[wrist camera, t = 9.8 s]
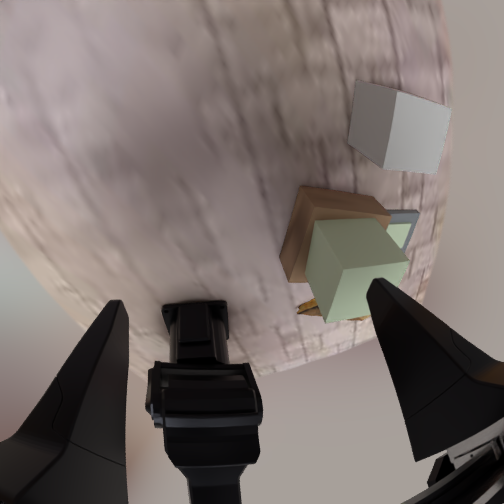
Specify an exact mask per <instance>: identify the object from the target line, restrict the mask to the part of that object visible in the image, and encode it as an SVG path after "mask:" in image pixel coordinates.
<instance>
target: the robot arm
mask: <svg viewBox="0 0 504 504" xmlns="http://www.w3.org/2000/svg"><path fill="white" fill-rule="evenodd" d="M366 299H367V303H368V306H369V310H370V314H371V317H372V321H373V325H374V328H375V332H376V335H377V338H378V340H379V343H380V346H381V348H382V351H383V354H384V357H385V360H386V363H387V366H388V368H389V371H390V375H391V378H392V380H393V384H394V387H395V390H396V393H397V396H398V400H399V403H400V406H401V410H402V413H403V417H404V420H405V424H406V428H407V432H408V436H409V439H410V443H411V447H412V452H413V455H414V459H415V462H417V461H420V460H422V459H425V458H427V457H430V456H432V455H434V454H437V453H439V452H441V451H444V450H447V453H445V454H444V455H442V456H440V457H439V458H437V459H436V461H435V463H434V466H433V469H432V471H431V474H430V476H429V479H428V481H427V484H428V487H429V488H428V489H426V490H424V491H423V492H421V493H419V494H418V495H416V496H414V497H412V498H411V499H409V500H407V501H405V502H403V503H401V504H503V503H504V362H501V361H497V360H495V359H493V358H491V357H490V356H489V355H487V354H486V353H484V352H483V351H482V350H480V349H479V348H477V347H476V346H474V345H473V344H472V343H470V342H468V341H467V340H466V339H465V338H463V337H462V336H461V335H459V334H458V333H457V332H456V331H454V330H453V329H451V328H450V327H449V326H448V325H447V324H445V323H444V322H443V321H441V320H440V319H439V318H437V317H436V316H435V315H434V314H432V313H431V312H430V311H428V310H427V309H426V308H424V307H423V306H422V305H421V304H419V303H418V302H417V301H415V300H414V299H412V298H411V297H410V296H408V295H407V294H406V293H404V292H403V291H402V290H400V289H399V288H397V287H396V286H395V285H393V284H392V283H391V282H389V281H388V280H386V279H385V278H383V277H380V278H374V279H373V280H372V282H371V284H370V286H369V288H368V291H367V293H366ZM161 312H162V315H163V318H164V321H165V324H166V327H167V330H168V332H169V335H170V363H167V362H161V361H155V363H154V367H153V368H151V369H149V370H148V387H147V395H146V403H145V409H146V411H147V412H148V413H149V414H150V415H151V416H152V420H154V426H155V428H163V434H164V447H165V452H166V453H167V455H168V457H169V459H170V460H171V462H172V463H173V464H174V466H175V467H176V468H178V469H179V470H180V471H181V472H182V473H183V475H184V476H185V477H186V478H187V486H188V494H189V501H190V504H242V503H241V492H240V480H239V479H240V476H241V474H242V473H243V471H244V470H245V468H246V467H247V465H249V464H255V463H256V462H257V460H258V457H259V455H260V445H259V438H258V426H259V425H260V424H261V422H262V418H263V405H262V399H261V395H260V392H259V389H258V386H257V384H256V381H255V378H254V375H253V373H252V370H251V367H250V364H249V363H243V364H230V362H229V355H228V348H227V341H226V340H228V339H229V330H228V314H227V303H226V302H225V301H213V302H201V303H189V304H175V305H164V306H162V310H161ZM128 368H129V317H128V314H127V311H126V309H125V307H124V304H123V302H122V301H121V300H110V301H109V302H108V303H107V304H106V306H105V307H104V308H103V310H102V311H101V312H100V314H99V315H98V316H97V318H96V319H95V320H94V322H93V323H92V324H91V326H90V327H89V328H88V330H87V331H86V333H85V334H84V335H83V337H82V338H81V340H80V341H79V342H78V344H77V345H76V347H75V348H74V350H73V351H72V353H71V354H70V356H69V357H68V359H67V360H66V362H65V363H64V365H63V366H62V368H61V369H60V371H59V372H58V374H57V377H55V378H54V380H53V381H52V383H51V385H50V386H49V388H48V389H47V391H46V392H45V394H44V395H43V396H42V398H41V399H40V401H39V402H38V404H37V405H36V406H35V408H34V409H33V410H32V412H31V413H30V414H29V416H28V417H27V419H26V420H25V421H24V422H23V424H22V425H21V427H20V428H19V429H18V431H17V432H16V433H15V434H14V435H12V436H11V437H10V438H8V439H6V440H4V441H2V442H0V504H128V493H127V478H126V457H125V455H126V453H125V424H126V423H125V421H126V395H127V380H128Z"/></svg>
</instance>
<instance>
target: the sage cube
mask: <svg viewBox="0 0 504 504" xmlns="http://www.w3.org/2000/svg"><path fill="white" fill-rule="evenodd" d="M409 262H410V260H409V259H408V258H407V257H406V255H405V254H404V253H403V251H402V250H401V249H400V248H399V246H398V245H397V244H396V243H395V241H394V240H393V239H392V238H391V236H390V235H389V234H388V233H387V232H386V230H385V229H384V228H383V227H382V226H381V224H380V223H379V222H378V221H377V220H376V219H375V218H358V219H335V220H316V221H315V223H314V229H313V234H312V239H311V245H310V250H309V255H308V260H307V265H306V270H305V275H306V278H307V280H308V283H309V285H310V287H311V290H312V292H313V295H314V297H315V299H316V302H317V304H318V307H319V309H320V312H321V314H322V317H323V319H324V322H325V323H330V322H336V321H341V320H347V319H352V318H357V317H362V316H367V315H371V314H370V310H369V306H368V303H367V299H366V293H367V291H368V288H369V286H370V284H371V282H372V280H373V279H374V278H380V277H383V278H385V279H386V280H388V281H389V282H391V283H392V284H393V285H395V286H396V287H398V285H399V283H400V281H401V279H402V277H403V275H404V273H405V271H406V269H407V266H408V264H409Z"/></svg>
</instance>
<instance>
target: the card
mask: <svg viewBox="0 0 504 504" xmlns="http://www.w3.org/2000/svg"><path fill="white" fill-rule="evenodd" d="M386 211H387V212H388V213H389V214H390V215H391V216H392V218H391V220H390V222H389V225H388V227H387V229H386V232H387V233H388V234H389V235H390V236H391V238H392V239H393V240H394V241H395V243H396V244H397V245H398V246H399V248H400V249H401V250H402V251H403V253H405V251H406V248H407V246H408V243H409V241H410V238H411V236H412V233H413V231H414V228H415V226H416V223H417V220H418V218H419V215H420V213H419V212H418V211H417V210H386Z"/></svg>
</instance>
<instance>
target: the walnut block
mask: <svg viewBox="0 0 504 504" xmlns="http://www.w3.org/2000/svg"><path fill="white" fill-rule="evenodd" d="M358 218H375V219H376V220H377V221H378V222H379V223H380V224H381V226H382V227H383V228H384V229H385V230H386V229H387V227H388V225H389V222H390V220H391V218H392V216H391V215H390V214H389V213H388V212H387V211H386V209H385V208H384V207H383V206H382V205H381V204H380V203H379V202H378V201H377V200H376V199H375V198H374V197H372V196H367V195H361V194H355V193H349V192H342V191H336V190H329V189H322V188H315V187H307V186H300V187H299V191H298V195H297V198H296V202H295V205H294V209H293V212H292V216H291V219H290V223H289V226H288V229H287V233H286V236H285V240H284V243H283V246H282V250H281V253H280V257H279V258H280V260H281V263H282V266H283V269H284V271H285V274H286V277H287V280H288V283H305V282H308V280H307V278H306V275H305V270H306V265H307V260H308V255H309V250H310V245H311V239H312V234H313V229H314V223H315V221H316V220H335V219H358Z"/></svg>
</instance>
